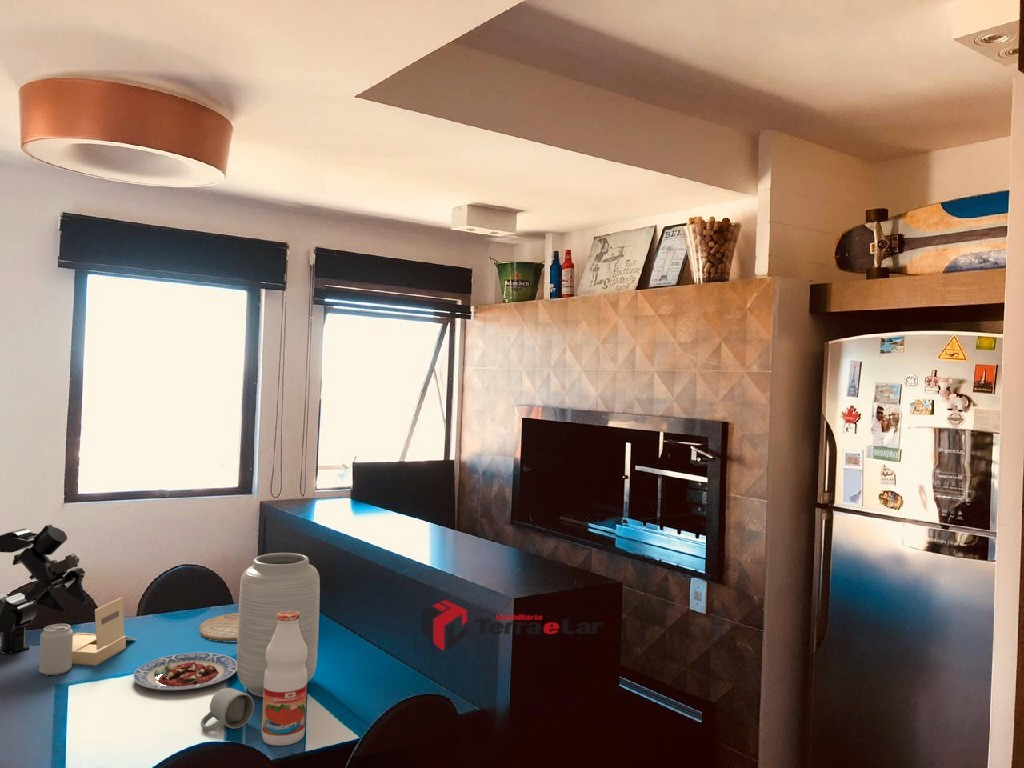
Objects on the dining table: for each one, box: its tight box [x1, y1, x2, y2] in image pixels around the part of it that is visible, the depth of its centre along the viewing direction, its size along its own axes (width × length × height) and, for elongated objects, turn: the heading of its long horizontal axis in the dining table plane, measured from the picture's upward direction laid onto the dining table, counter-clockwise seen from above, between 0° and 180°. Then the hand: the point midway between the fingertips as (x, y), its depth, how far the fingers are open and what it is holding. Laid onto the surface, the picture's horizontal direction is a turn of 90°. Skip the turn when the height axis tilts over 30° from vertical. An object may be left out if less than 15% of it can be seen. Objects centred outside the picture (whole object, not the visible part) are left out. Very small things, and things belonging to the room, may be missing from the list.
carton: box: [72, 632, 137, 667], centre depth 222 cm, size 15×21×4 cm
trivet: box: [198, 612, 239, 642], centre depth 245 cm, size 25×25×2 cm
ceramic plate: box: [132, 652, 237, 691], centre depth 206 cm, size 26×26×3 cm
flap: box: [94, 597, 125, 650], centre depth 218 cm, size 1×12×11 cm, turn 174°
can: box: [38, 623, 74, 676], centre depth 206 cm, size 8×8×12 cm
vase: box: [236, 552, 321, 698], centre depth 202 cm, size 20×20×34 cm
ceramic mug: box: [200, 687, 255, 733], centre depth 179 cm, size 11×8×8 cm
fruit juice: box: [261, 610, 308, 747], centre depth 174 cm, size 9×9×28 cm
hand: (75, 606), depth 219 cm, fingers open, 9 cm apart
